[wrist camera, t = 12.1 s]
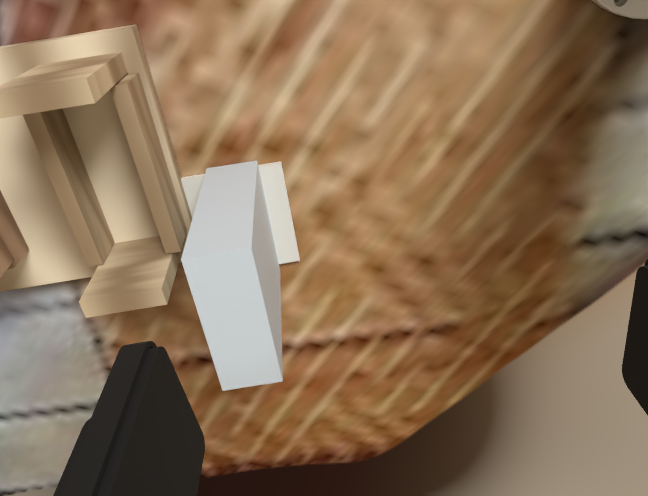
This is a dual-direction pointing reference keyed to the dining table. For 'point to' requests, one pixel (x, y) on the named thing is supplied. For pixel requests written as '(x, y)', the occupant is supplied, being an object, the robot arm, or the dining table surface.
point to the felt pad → (275, 206)
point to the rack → (90, 170)
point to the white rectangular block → (236, 276)
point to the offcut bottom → (11, 234)
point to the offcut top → (4, 257)
